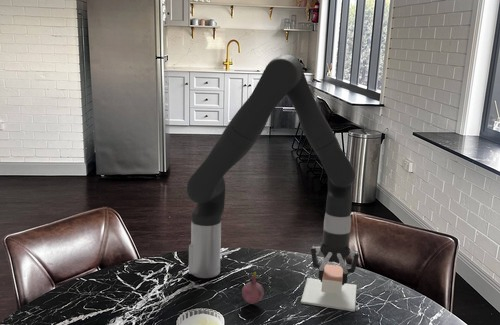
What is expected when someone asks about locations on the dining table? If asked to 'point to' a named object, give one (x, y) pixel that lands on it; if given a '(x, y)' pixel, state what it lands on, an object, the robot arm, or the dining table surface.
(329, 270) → the card box
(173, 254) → the dining table surface
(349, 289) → the mat
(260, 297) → the vegetable
